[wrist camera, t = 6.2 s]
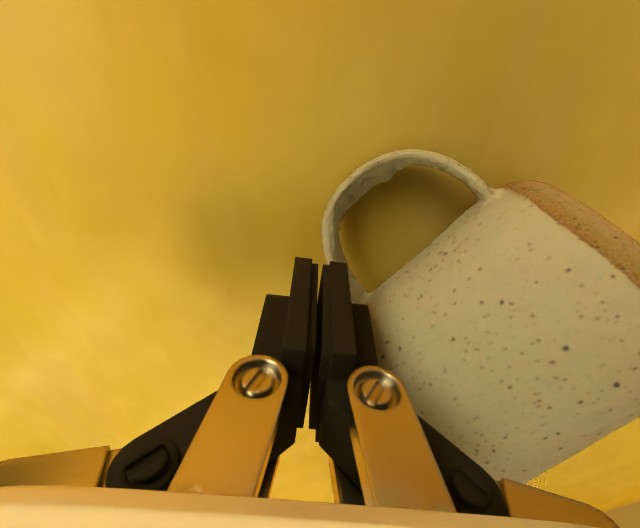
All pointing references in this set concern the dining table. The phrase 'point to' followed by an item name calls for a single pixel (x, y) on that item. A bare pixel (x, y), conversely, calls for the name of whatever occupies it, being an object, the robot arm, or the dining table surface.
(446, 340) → the ceramic mug
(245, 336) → the dining table surface
